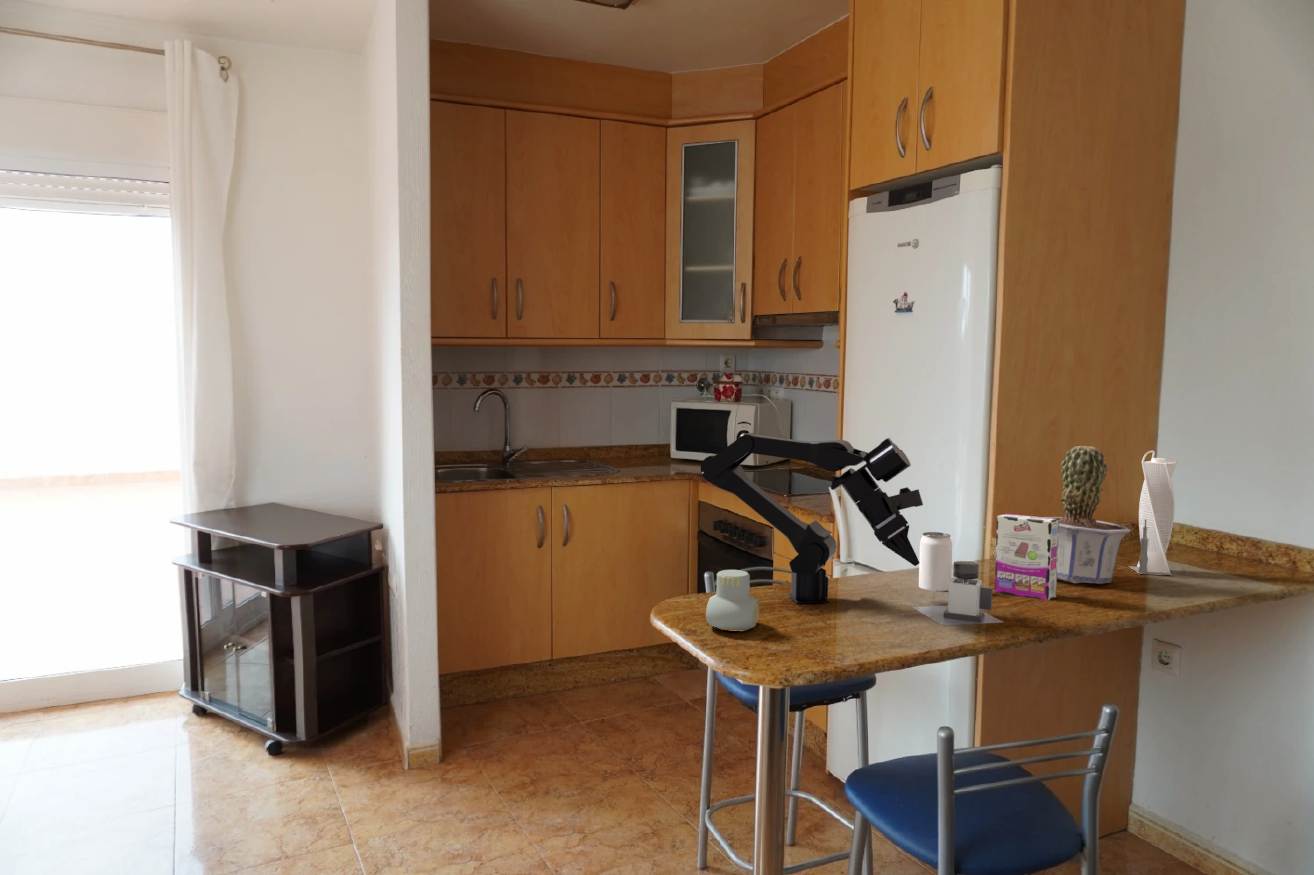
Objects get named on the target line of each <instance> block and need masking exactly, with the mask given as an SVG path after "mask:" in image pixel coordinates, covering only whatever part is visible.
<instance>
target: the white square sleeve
mask: <svg viewBox="0 0 1314 875" xmlns="http://www.w3.org/2000/svg"><path fill="white" fill-rule="evenodd" d="M993 589H994V588H993V587H991V586H990V587H989V586H983V580H982V579H979V578H977V579H968V584H963V579H961V578H956V577H954V576H953V577H951V580H950V581H949V588H948V590H947V591H948V592H947V597H948V598H947V606H948V607H947V608H946V610H945V611H944V618H949V619H957V620H965V621H972V622H981V620H982V618H983V616H984V614H985V613H986V611H985V610H987V611H992V609H993Z"/></svg>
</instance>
